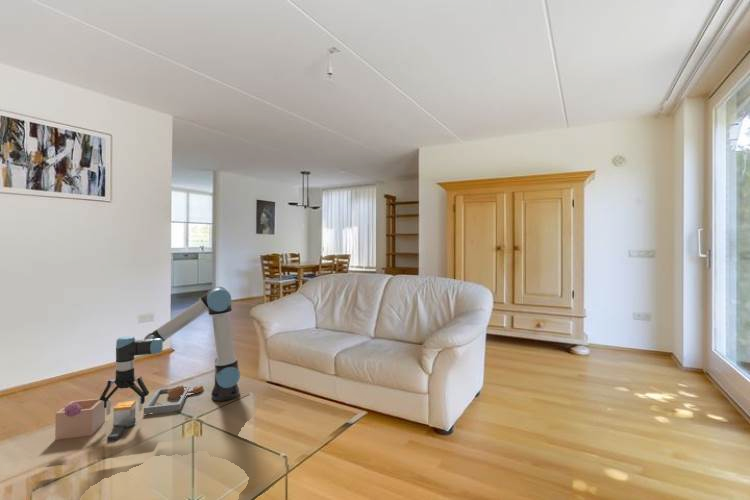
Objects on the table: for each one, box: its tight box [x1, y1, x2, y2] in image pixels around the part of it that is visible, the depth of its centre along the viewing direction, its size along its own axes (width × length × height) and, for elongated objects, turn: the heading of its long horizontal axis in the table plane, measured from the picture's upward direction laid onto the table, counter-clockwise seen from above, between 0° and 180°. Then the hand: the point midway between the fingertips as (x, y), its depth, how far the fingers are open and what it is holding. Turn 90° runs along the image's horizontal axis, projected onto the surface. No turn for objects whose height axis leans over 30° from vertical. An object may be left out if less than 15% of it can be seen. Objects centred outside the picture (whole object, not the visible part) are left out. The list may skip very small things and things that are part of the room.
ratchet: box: [106, 417, 136, 442], centre depth 168 cm, size 9×19×8 cm, turn 18°
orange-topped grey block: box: [112, 400, 136, 426], centre depth 173 cm, size 7×7×8 cm
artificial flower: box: [63, 402, 83, 417], centre depth 163 cm, size 7×7×25 cm
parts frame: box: [143, 385, 191, 415], centre depth 199 cm, size 17×27×4 cm, turn 18°
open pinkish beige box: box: [54, 397, 106, 441], centre depth 169 cm, size 14×14×12 cm
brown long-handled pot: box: [166, 384, 205, 400], centre depth 209 cm, size 18×8×7 cm, turn 125°
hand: (124, 412), depth 173 cm, fingers open, 13 cm apart
